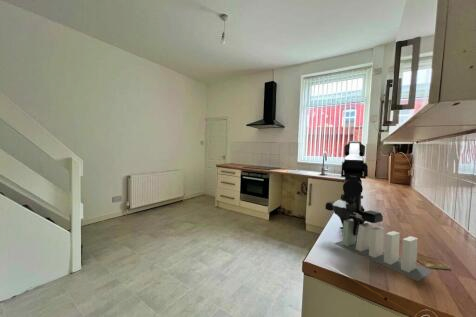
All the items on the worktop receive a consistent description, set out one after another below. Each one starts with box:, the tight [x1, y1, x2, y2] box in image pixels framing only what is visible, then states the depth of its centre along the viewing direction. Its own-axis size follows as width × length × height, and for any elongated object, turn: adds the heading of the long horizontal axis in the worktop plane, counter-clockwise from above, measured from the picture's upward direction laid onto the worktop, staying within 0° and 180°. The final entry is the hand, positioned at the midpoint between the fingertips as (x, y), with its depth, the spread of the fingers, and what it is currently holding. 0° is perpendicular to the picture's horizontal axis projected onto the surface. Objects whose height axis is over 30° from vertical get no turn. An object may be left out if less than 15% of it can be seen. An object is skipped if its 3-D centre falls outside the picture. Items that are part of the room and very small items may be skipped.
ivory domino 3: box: [383, 230, 401, 265], centre depth 64 cm, size 5×2×9 cm, turn 119°
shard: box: [416, 252, 451, 270], centre depth 66 cm, size 11×8×2 cm
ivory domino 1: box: [356, 222, 374, 252], centre depth 71 cm, size 5×2×9 cm, turn 119°
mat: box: [334, 240, 434, 282], centre depth 67 cm, size 10×25×1 cm, turn 29°
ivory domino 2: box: [369, 226, 385, 258], centre depth 68 cm, size 5×2×9 cm, turn 119°
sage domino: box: [342, 219, 357, 246], centre depth 75 cm, size 5×2×9 cm, turn 119°
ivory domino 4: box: [401, 235, 419, 272], centre depth 60 cm, size 5×2×9 cm, turn 119°
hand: (350, 233), depth 76 cm, fingers open, 3 cm apart
